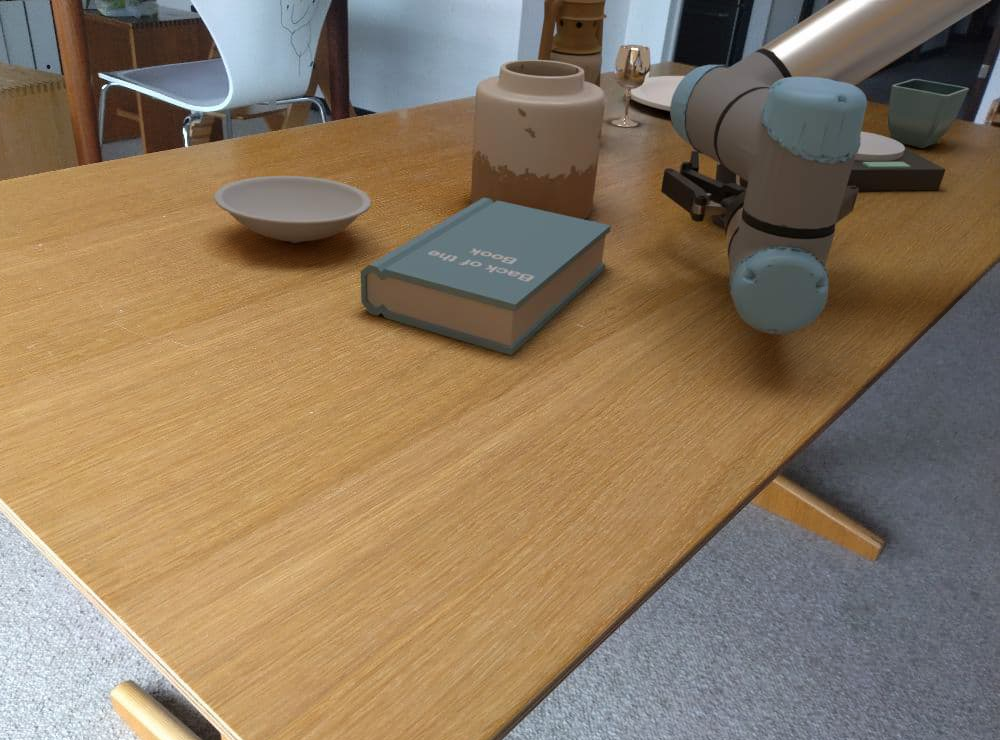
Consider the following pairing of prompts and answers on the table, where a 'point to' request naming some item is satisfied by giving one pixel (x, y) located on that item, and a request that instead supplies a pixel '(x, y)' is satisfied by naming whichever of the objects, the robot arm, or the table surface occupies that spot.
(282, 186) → the dish
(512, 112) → the vase
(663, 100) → the plate
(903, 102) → the flower pot
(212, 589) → the table surface
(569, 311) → the table surface
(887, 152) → the scale
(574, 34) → the lantern
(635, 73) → the wineglass
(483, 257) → the book
